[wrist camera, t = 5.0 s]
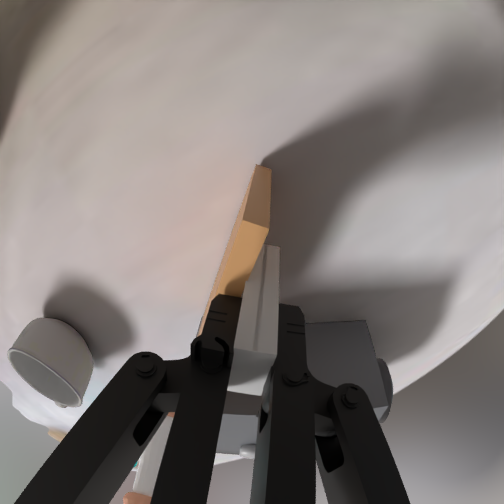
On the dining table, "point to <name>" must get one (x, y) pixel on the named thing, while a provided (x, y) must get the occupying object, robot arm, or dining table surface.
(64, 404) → the teacup
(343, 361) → the camera housing
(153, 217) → the dining table surface
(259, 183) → the side door
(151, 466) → the salt shaker
